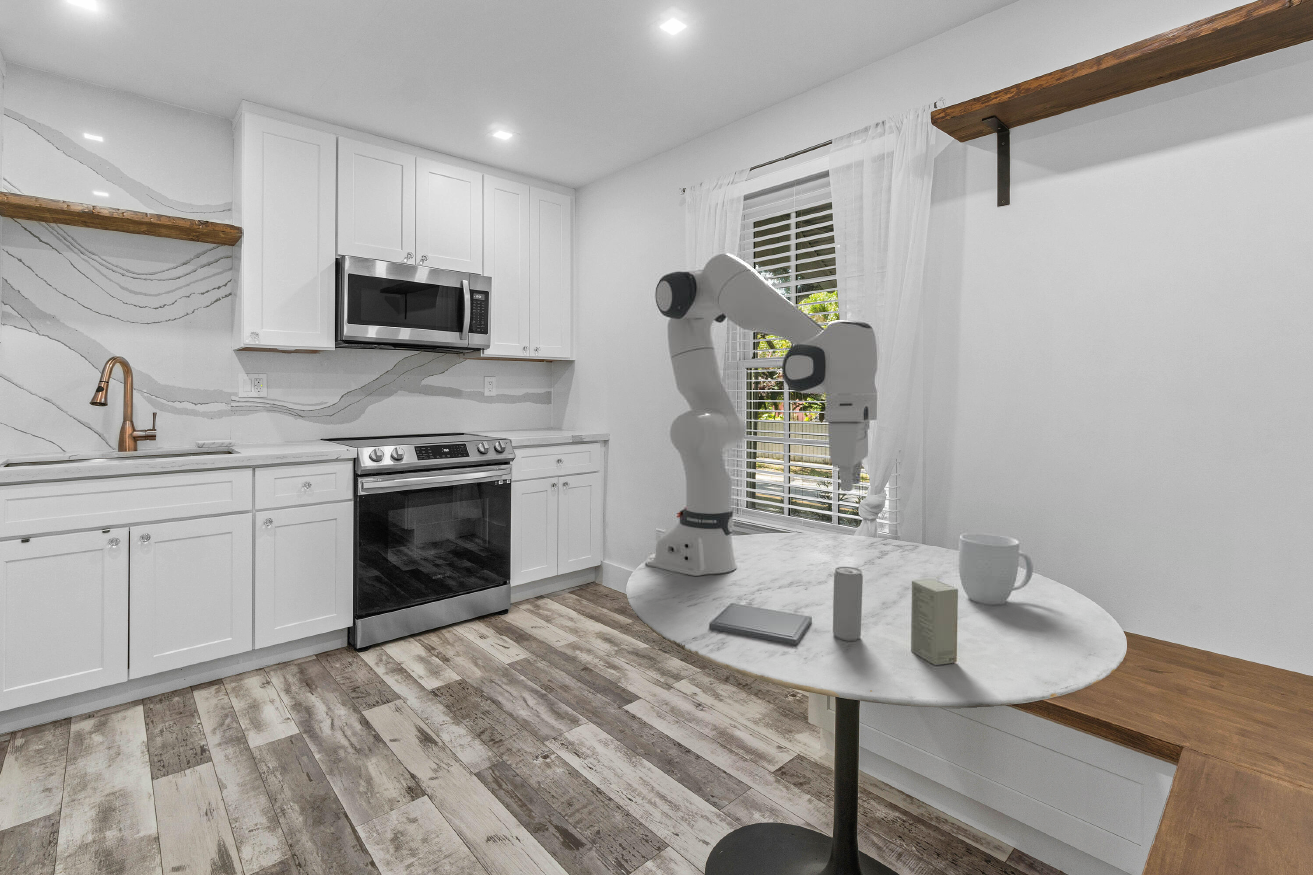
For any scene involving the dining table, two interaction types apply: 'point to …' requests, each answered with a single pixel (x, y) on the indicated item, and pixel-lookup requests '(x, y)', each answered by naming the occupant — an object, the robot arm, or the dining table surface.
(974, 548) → the mug
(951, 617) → the skincare box
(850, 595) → the beverage can
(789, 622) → the slate coaster
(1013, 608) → the dining table surface
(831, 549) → the dining table surface
